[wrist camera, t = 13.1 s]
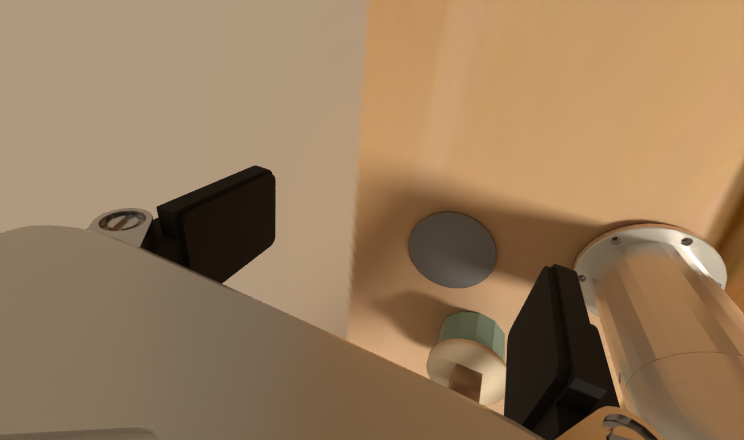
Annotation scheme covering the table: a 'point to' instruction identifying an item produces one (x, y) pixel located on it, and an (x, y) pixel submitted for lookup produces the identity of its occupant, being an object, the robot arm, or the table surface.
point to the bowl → (474, 330)
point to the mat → (452, 250)
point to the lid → (468, 370)
